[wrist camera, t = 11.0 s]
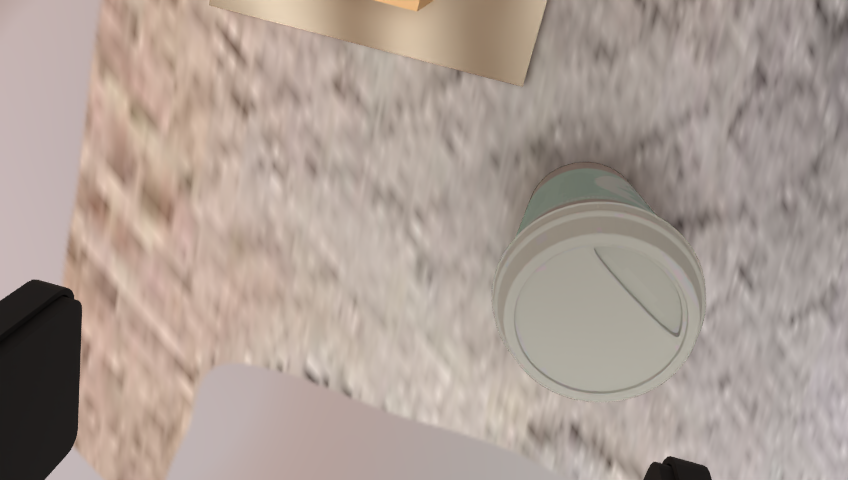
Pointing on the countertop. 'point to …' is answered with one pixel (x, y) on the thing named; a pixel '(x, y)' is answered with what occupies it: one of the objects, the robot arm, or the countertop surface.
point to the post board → (420, 29)
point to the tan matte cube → (408, 3)
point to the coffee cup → (597, 289)
